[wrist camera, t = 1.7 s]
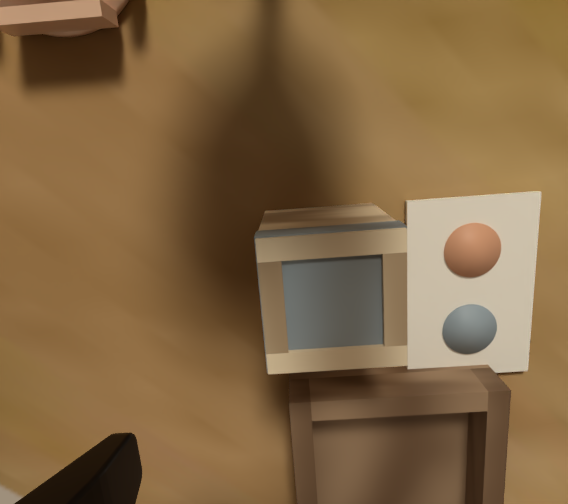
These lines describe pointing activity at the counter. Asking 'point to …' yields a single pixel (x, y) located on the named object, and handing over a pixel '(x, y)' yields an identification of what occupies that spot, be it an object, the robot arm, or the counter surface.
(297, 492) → the open box
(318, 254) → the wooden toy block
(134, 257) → the counter surface
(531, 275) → the card
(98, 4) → the dish
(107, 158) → the counter surface
